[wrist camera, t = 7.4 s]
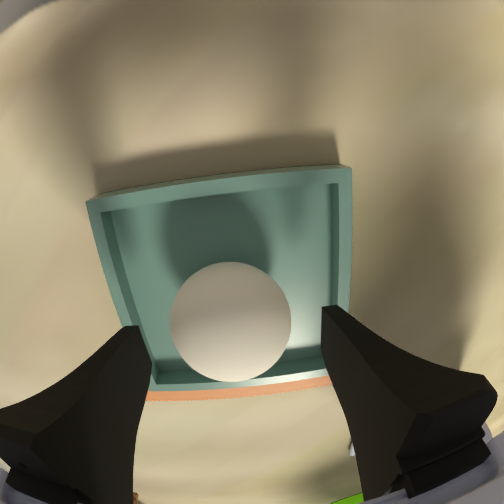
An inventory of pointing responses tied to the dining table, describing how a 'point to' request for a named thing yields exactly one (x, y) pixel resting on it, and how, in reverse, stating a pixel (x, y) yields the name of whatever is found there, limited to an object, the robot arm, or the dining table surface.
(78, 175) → the dining table surface
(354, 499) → the wineglass
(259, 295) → the ball
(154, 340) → the tray
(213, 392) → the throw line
